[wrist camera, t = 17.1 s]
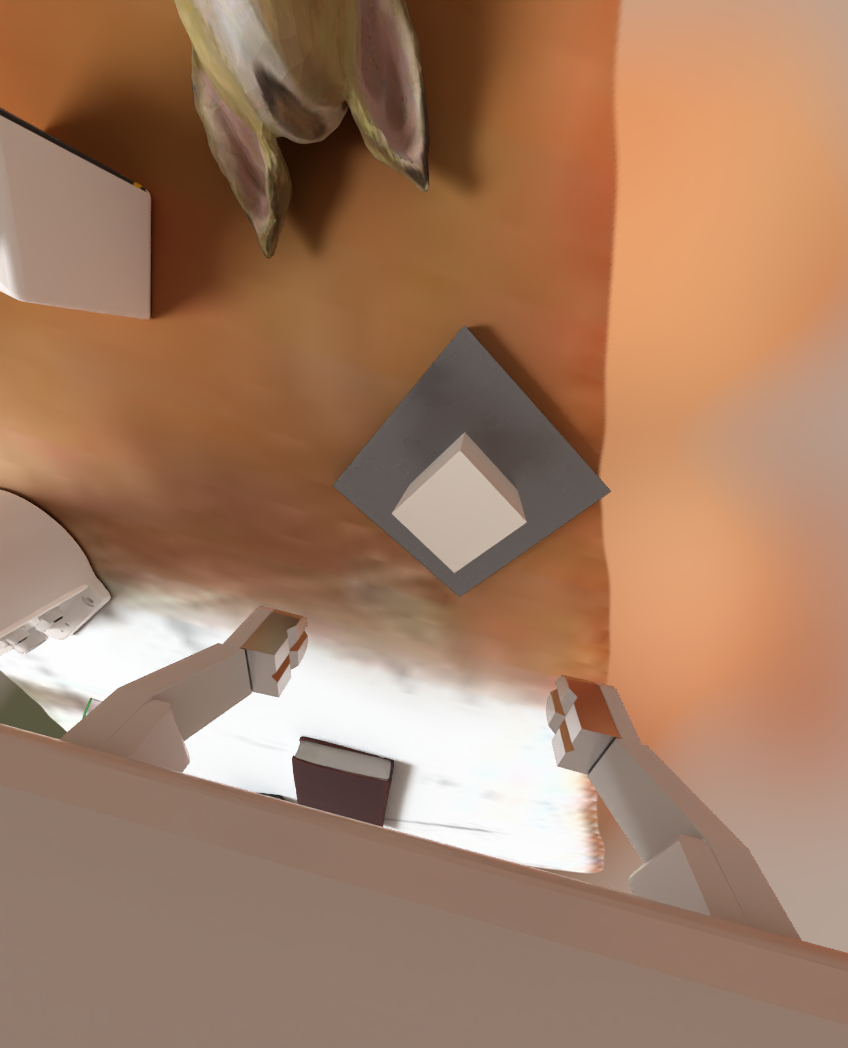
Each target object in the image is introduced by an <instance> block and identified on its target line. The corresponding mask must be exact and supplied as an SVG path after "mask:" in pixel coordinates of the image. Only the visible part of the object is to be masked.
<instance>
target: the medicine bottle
mask: <svg viewBox="0 0 848 1048" xmlns="http://www.w3.org/2000/svg"><path fill="white" fill-rule="evenodd" d="M150 287H151V196H150V193H149V191H148V190H146V189H145V188H144V187H143V186H142V185H140V184H138V183H136V182H134V181H133V180H131V179H129V178H127V177H125V176H124V175H122V174H120V173H118V172H116V171H115V170H113V169H111V168H109V167H107V166H106V165H104V164H102V163H100V162H98V161H97V160H95V159H93V158H91V157H89V156H88V155H86V154H84V153H82V152H80V151H79V150H77V149H75V148H73V147H71V146H69V145H68V144H66V143H64V142H62V141H60V140H59V139H57V138H55V137H53V136H51V135H50V134H48V133H46V132H44V131H42V130H41V129H39V128H37V127H35V126H33V125H32V124H30V123H28V122H26V121H24V120H22V119H21V118H19V117H17V116H15V115H13V114H11V113H9V112H8V111H6V110H4V109H2V108H0V291H1V292H3V293H5V294H7V295H9V296H11V297H13V298H15V299H17V300H20V301H23V302H30V303H36V304H43V305H50V306H57V307H64V308H70V309H77V310H84V311H91V312H97V313H104V314H111V315H118V316H125V317H131V318H138V319H145V320H146V319H149V318H150Z"/></svg>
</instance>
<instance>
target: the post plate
mask: <svg viewBox="0 0 848 1048" xmlns="http://www.w3.org/2000/svg"><path fill="white" fill-rule="evenodd" d="M464 432H465V433H466V434H467V435H468V436H469V437H470V438H471V439H472V440H473V442H474V443H475V444H476V445H477V446H478V447H479V448H480V449H481V450H482V451H483V453H484V454H485V455H486V456H487V457H488V458H489V459H490V460H491V461H492V462H493V464H494V465H495V466H496V467H497V468H498V469H499V470H500V471H501V472H502V473H503V475H504V476H505V477H506V478H507V479H508V480H509V481H510V482H511V483H512V484H513V486H514V487H515V488H516V489H517V491H518V494H519V498H520V501H521V504H522V508H523V511H524V515H525V518H526V521H527V522H526V523H525V524H524V525H522V526H521V527H519V528H518V529H516V530H515V531H514V532H512V533H511V534H509V535H508V536H507V537H505V538H504V539H502V540H501V541H499V542H498V543H497V544H495V545H494V546H492V547H491V548H489V549H488V550H487V551H485V552H484V553H482V554H481V555H479V556H478V557H477V558H475V559H474V560H472V561H471V562H469V563H468V564H467V565H465V566H464V567H462V568H461V569H460V570H458V571H457V572H455V573H454V572H453V571H452V570H451V569H450V568H449V567H448V566H446V565H445V564H444V563H443V562H442V561H441V560H440V559H439V558H438V557H437V556H436V555H435V554H434V553H433V552H432V551H431V550H430V549H428V548H427V547H426V546H425V545H424V544H423V543H422V542H421V541H420V540H419V539H418V538H417V537H416V536H415V535H414V534H413V533H412V532H411V531H409V530H408V529H407V528H406V527H405V526H404V525H403V524H402V523H401V522H400V521H399V520H398V519H397V518H396V517H395V516H394V515H393V514H392V512H393V511H394V509H395V507H396V506H397V504H398V502H399V501H400V499H401V498H402V496H403V494H404V493H405V491H406V490H407V488H408V486H409V485H410V484H411V483H412V482H413V481H414V480H415V479H416V478H417V477H418V476H419V475H420V474H421V473H422V472H423V471H424V470H425V469H426V468H427V467H429V466H430V465H431V464H432V463H433V462H434V461H435V460H436V459H437V458H438V457H439V456H440V455H441V454H442V453H443V452H444V451H445V450H446V449H447V448H448V447H450V446H451V445H452V444H453V443H454V442H455V441H456V440H457V439H458V438H459V437H460V436H461V435H462V434H463V433H464ZM333 487H335V488H336V489H337V490H338V491H339V492H340V493H341V494H343V495H344V496H345V497H346V498H347V499H348V500H349V501H351V502H352V503H353V504H354V505H355V506H356V507H357V508H359V509H360V510H361V511H362V512H363V513H364V514H365V515H367V516H368V517H369V518H370V519H371V520H372V521H373V522H375V523H376V524H377V525H378V526H379V527H380V528H381V529H383V530H384V531H385V532H386V533H387V534H388V535H389V536H391V537H392V538H393V539H394V540H395V541H396V542H397V543H399V544H400V545H401V546H402V547H403V548H404V549H405V550H407V551H408V552H409V553H410V554H411V555H412V556H413V557H415V558H416V559H417V560H418V561H419V562H420V563H421V564H423V565H424V566H425V567H426V568H427V569H428V570H429V571H431V572H432V573H433V574H434V575H435V576H436V577H437V578H439V579H440V580H441V581H442V582H443V583H444V584H445V585H447V586H448V587H449V588H450V589H451V590H452V591H453V592H455V593H456V594H457V595H458V596H459V597H460V596H462V595H463V594H465V593H466V592H468V591H469V590H470V589H472V588H473V587H475V586H476V585H478V584H479V583H480V582H482V581H483V580H485V579H486V578H488V577H489V576H490V575H492V574H493V573H495V572H496V571H498V570H499V569H501V568H502V567H503V566H505V565H506V564H508V563H509V562H511V561H512V560H513V559H515V558H516V557H518V556H519V555H521V554H522V553H524V552H525V551H526V550H528V549H529V548H531V547H532V546H534V545H535V544H536V543H538V542H539V541H541V540H542V539H544V538H545V537H546V536H548V535H549V534H551V533H552V532H554V531H555V530H557V529H558V528H559V527H561V526H562V525H564V524H565V523H567V522H568V521H569V520H571V519H572V518H574V517H575V516H577V515H578V514H580V513H581V512H582V511H584V510H585V509H587V508H588V507H590V506H591V505H592V504H594V503H595V502H597V501H598V500H600V499H601V498H602V497H604V496H605V495H607V494H608V493H610V492H611V491H610V490H609V488H608V487H607V486H606V485H605V484H604V483H603V482H602V480H601V479H600V478H599V477H598V476H597V475H596V474H595V472H594V471H593V470H592V469H591V468H590V467H589V466H588V465H587V463H586V462H585V461H584V460H583V459H582V458H581V457H580V456H579V454H578V453H577V452H576V451H575V450H574V449H573V448H572V446H571V445H570V444H569V443H568V442H567V441H566V440H565V439H564V437H563V436H562V435H561V434H560V433H559V432H558V431H557V429H556V428H555V427H554V426H553V425H552V424H551V423H550V422H549V420H548V419H547V418H546V417H545V416H544V415H543V414H542V413H541V411H540V410H539V409H538V408H537V407H536V406H535V405H534V403H533V402H532V401H531V400H530V399H529V398H528V397H527V396H526V394H525V393H524V392H523V391H522V390H521V389H520V388H519V386H518V385H517V384H516V383H515V382H514V381H513V380H512V379H511V377H510V376H509V375H508V374H507V373H506V372H505V371H504V370H503V368H502V367H501V366H500V365H499V364H498V363H497V362H496V360H495V359H494V358H493V357H492V356H491V355H490V354H489V353H488V351H487V350H486V349H485V348H484V347H483V346H482V345H481V343H480V342H479V341H478V340H477V339H476V338H475V337H474V336H473V334H472V333H471V332H470V331H469V330H468V329H467V328H466V327H465V325H464V326H463V327H462V329H461V330H460V331H459V332H458V334H457V335H456V336H455V337H454V338H453V340H452V341H451V342H450V343H449V344H448V346H447V347H446V348H445V349H444V351H443V352H442V353H441V354H440V355H439V357H438V358H437V359H436V360H435V362H434V363H433V364H432V365H431V366H430V368H429V369H428V370H427V371H426V373H425V374H424V375H423V376H422V377H421V379H420V380H419V381H418V382H417V383H416V385H415V386H414V387H413V388H412V390H411V391H410V392H409V393H408V394H407V396H406V397H405V398H404V399H403V401H402V402H401V403H400V404H399V405H398V407H397V408H396V409H395V410H394V411H393V413H392V414H391V415H390V416H389V418H388V419H387V420H386V421H385V422H384V424H383V425H382V426H381V427H380V429H379V430H378V431H377V432H376V433H375V435H374V436H373V437H372V438H371V439H370V441H369V442H368V443H367V444H366V446H365V447H364V448H363V449H362V450H361V452H360V453H359V454H358V455H357V457H356V458H355V459H354V460H353V461H352V463H351V464H350V465H349V466H348V468H347V469H346V470H345V471H344V472H343V474H342V475H341V476H340V477H339V478H338V480H337V481H336V482H335V483H334V485H333Z"/></svg>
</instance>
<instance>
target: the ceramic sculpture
mask: <svg viewBox="0 0 848 1048" xmlns="http://www.w3.org/2000/svg"><path fill="white" fill-rule="evenodd" d="M174 2H175V4H176V6H177V9H178V13H179V16H180V18H181V21H182V23H183V25H184V27H185V29H186V31H187V33H188V35H189V37H190V39H191V43H192V66H191V79H192V89H193V98H194V106H195V108H196V111H197V113H198V115H199V117H200V119H201V121H202V123H203V126H204V128H205V131H206V134H207V140H208V144H209V148H210V151H211V153H212V155H213V157H214V159H215V161H216V162H217V164H218V166H219V168H220V171H221V173H222V174H223V175H224V176H225V177H226V179H227V180H228V181H229V182H230V187H231V190H232V191H233V193H234V195H235V196H236V198H237V200H238V202H239V204H240V205H241V207H242V209H243V210H244V212H245V213H246V215H247V217H248V219H249V220H250V222H251V224H252V225H253V227H254V229H255V231H256V234H257V238H258V241H259V243H260V246H261V248H262V251H263V253H264V255H265V256H266V258H271V257H272V256H273V255H274V252H275V249H276V246H277V242H278V238H279V234H280V232H281V229H282V227H283V225H284V221H285V218H286V214H287V211H288V207H289V204H290V201H291V197H292V181H291V177H290V173H289V169H288V167H287V164H286V162H285V159H284V157H283V154H282V152H281V150H280V148H279V146H278V143H277V140H276V138H278V137H285V138H287V139H289V140H291V141H293V142H296V143H299V144H308V143H314V142H320V141H322V140H324V139H325V138H326V137H327V136H328V135H330V134H331V133H332V132H333V131H334V130H335V129H336V128H337V127H338V126H339V125H340V123H341V121H342V119H343V117H344V116H345V114H346V112H347V109H348V107H350V110H351V113H352V117H353V118H354V120H355V122H356V124H357V126H358V128H359V130H360V132H361V135H362V137H363V140H364V142H365V145H366V146H367V148H368V149H369V151H370V152H371V153H372V155H373V156H374V157H375V158H376V159H377V160H379V161H381V162H382V163H384V164H385V165H387V166H389V167H390V168H392V169H394V170H395V171H397V172H399V173H400V174H402V175H404V176H405V177H407V178H408V179H409V180H410V181H411V182H412V183H413V184H414V185H415V186H416V187H417V188H419V189H420V190H422V191H423V192H425V191H428V189H429V168H428V152H429V134H428V117H427V108H426V96H425V86H424V80H423V71H422V62H421V52H420V43H419V40H418V37H417V35H416V32H415V30H414V28H413V25H412V22H411V19H410V15H409V12H408V8H407V5H406V1H405V0H174Z"/></svg>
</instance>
